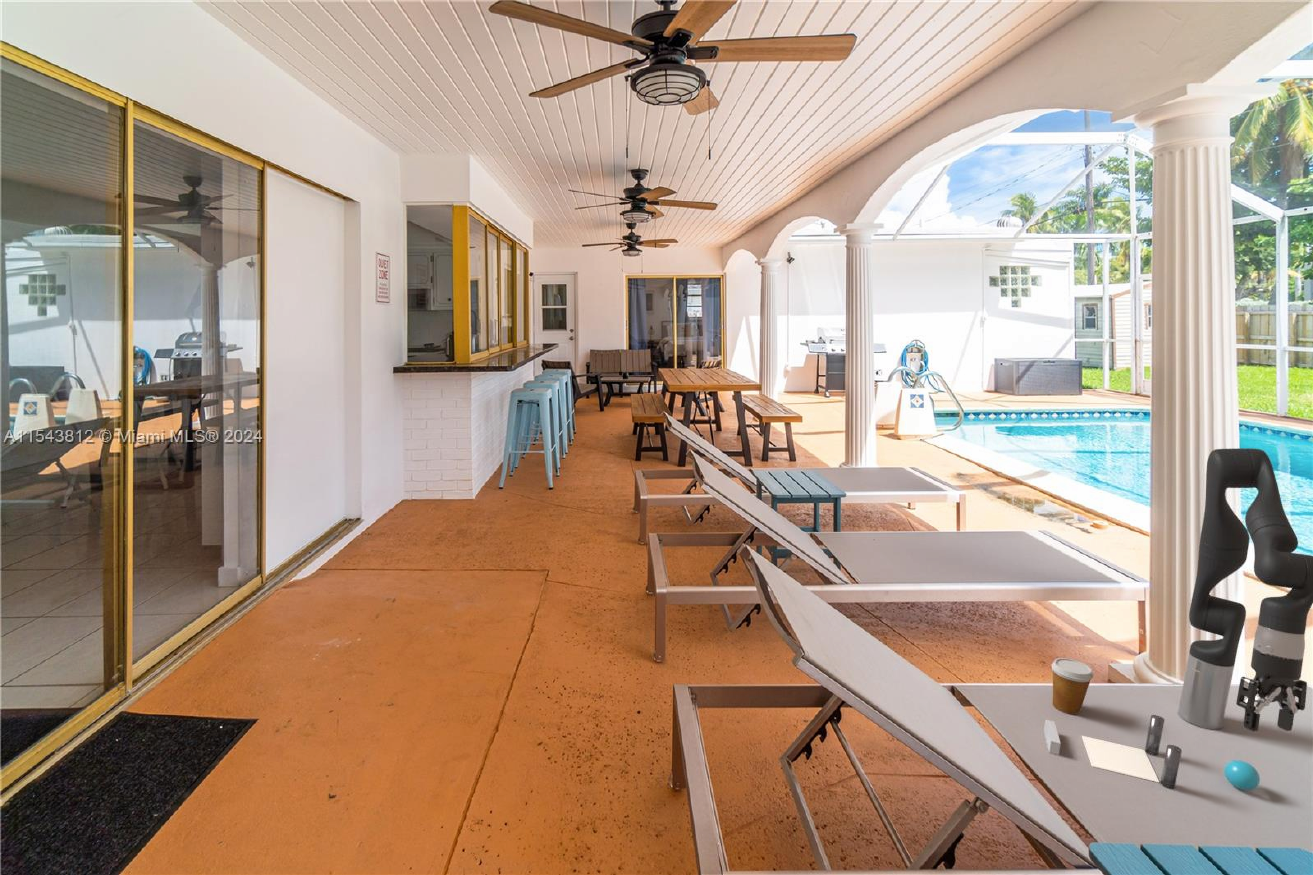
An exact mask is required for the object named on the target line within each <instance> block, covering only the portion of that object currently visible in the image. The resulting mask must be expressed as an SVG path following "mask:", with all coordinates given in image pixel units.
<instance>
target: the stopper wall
mask: <svg viewBox="0 0 1313 875" xmlns="http://www.w3.org/2000/svg"><path fill="white" fill-rule="evenodd" d="M1043 733H1044V737H1045V741H1046V746H1047V749H1048V753H1049V754H1053V755H1057V756H1060V752H1061V751H1060V749H1061V744H1062V743H1061V739H1060V737H1059V732H1058V729H1057V726H1056V722H1055V721H1054V720H1049V719H1045V721H1044V726H1043Z"/></svg>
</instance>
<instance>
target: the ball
mask: <svg viewBox="0 0 1313 875" xmlns="http://www.w3.org/2000/svg"><path fill="white" fill-rule="evenodd" d="M1223 771H1224V776H1225V778H1226V780H1227V782H1229V783H1230V785H1232V786H1233V787H1234V788H1237V789H1239V790H1242V791H1251V790H1254V789H1256V788H1257V787H1258V786H1259V784H1260V781H1261V780H1260V779H1261V778H1260V774H1259V772H1258V771H1257V769H1256V768H1255V767H1254V766H1253V765H1252V764H1250V763H1249V762H1247V761H1245V760H1241V759H1240V760H1239V759H1236V760H1231V761H1229V762H1227V763H1226V765H1225V766H1224V769H1223Z"/></svg>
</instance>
